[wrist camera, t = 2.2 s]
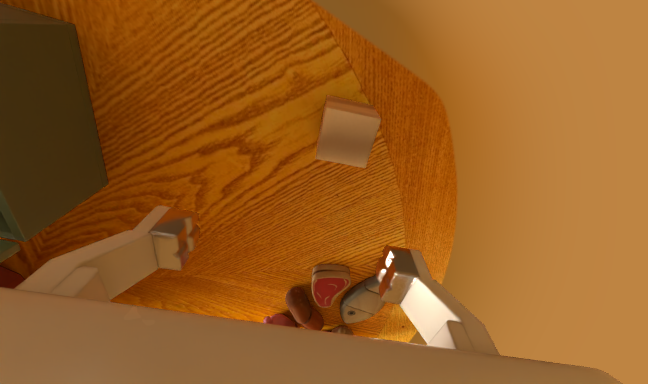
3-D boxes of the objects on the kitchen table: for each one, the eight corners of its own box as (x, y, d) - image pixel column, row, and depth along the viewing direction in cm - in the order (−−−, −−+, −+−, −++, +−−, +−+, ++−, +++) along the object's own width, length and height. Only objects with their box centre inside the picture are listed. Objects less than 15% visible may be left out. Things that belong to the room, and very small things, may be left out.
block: (326, 94, 23) (326, 107, 19) (373, 104, 24) (381, 119, 20) (317, 139, 25) (315, 158, 22) (360, 148, 26) (365, 168, 22)
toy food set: (338, 356, 49) (338, 380, 45) (254, 339, 46) (248, 364, 43) (403, 271, 36) (411, 297, 32) (291, 242, 33) (287, 266, 30)
